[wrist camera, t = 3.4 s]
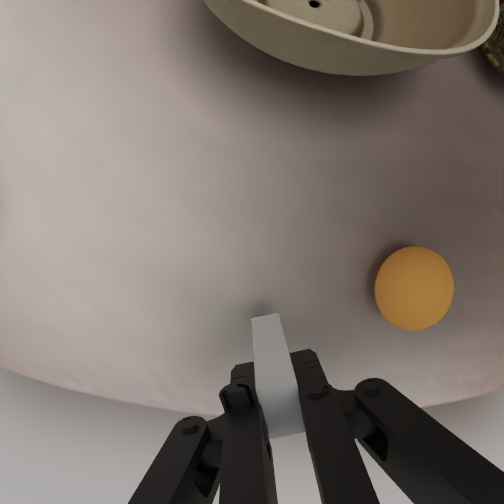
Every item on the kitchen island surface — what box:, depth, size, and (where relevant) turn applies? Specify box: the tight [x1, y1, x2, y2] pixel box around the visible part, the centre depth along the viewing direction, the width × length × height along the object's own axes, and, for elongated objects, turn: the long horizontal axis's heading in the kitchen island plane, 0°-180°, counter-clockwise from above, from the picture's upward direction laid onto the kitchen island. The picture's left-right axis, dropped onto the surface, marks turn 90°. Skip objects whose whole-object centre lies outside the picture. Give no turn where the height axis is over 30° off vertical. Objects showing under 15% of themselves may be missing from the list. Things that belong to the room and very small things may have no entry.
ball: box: [375, 246, 454, 331], centre depth 18 cm, size 6×6×6 cm
